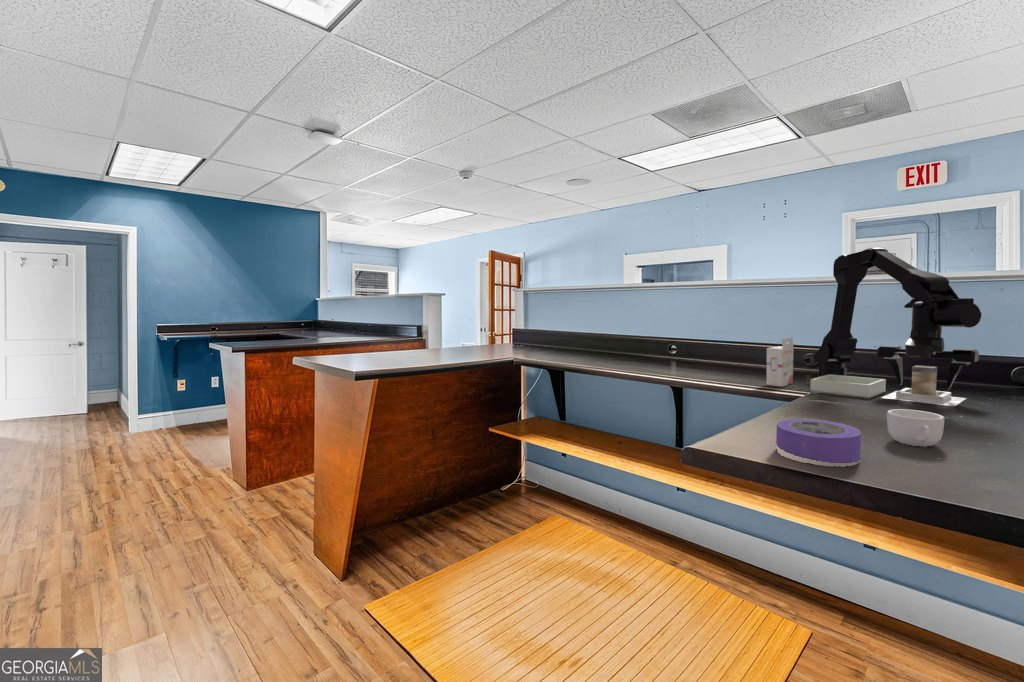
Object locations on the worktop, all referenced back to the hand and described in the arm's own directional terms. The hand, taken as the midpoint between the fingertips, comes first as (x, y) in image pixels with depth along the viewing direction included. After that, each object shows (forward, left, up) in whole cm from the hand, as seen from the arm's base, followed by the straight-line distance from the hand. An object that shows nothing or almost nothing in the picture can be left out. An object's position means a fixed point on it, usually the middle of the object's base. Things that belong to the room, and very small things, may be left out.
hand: (923, 387), depth 118 cm
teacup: (+9, -49, -4) cm, 50 cm away
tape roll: (0, -68, -4) cm, 68 cm away
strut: (0, 0, -3) cm, 3 cm away
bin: (-15, -3, -3) cm, 16 cm away
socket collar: (0, 0, -3) cm, 3 cm away
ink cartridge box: (-34, 0, -4) cm, 35 cm away
